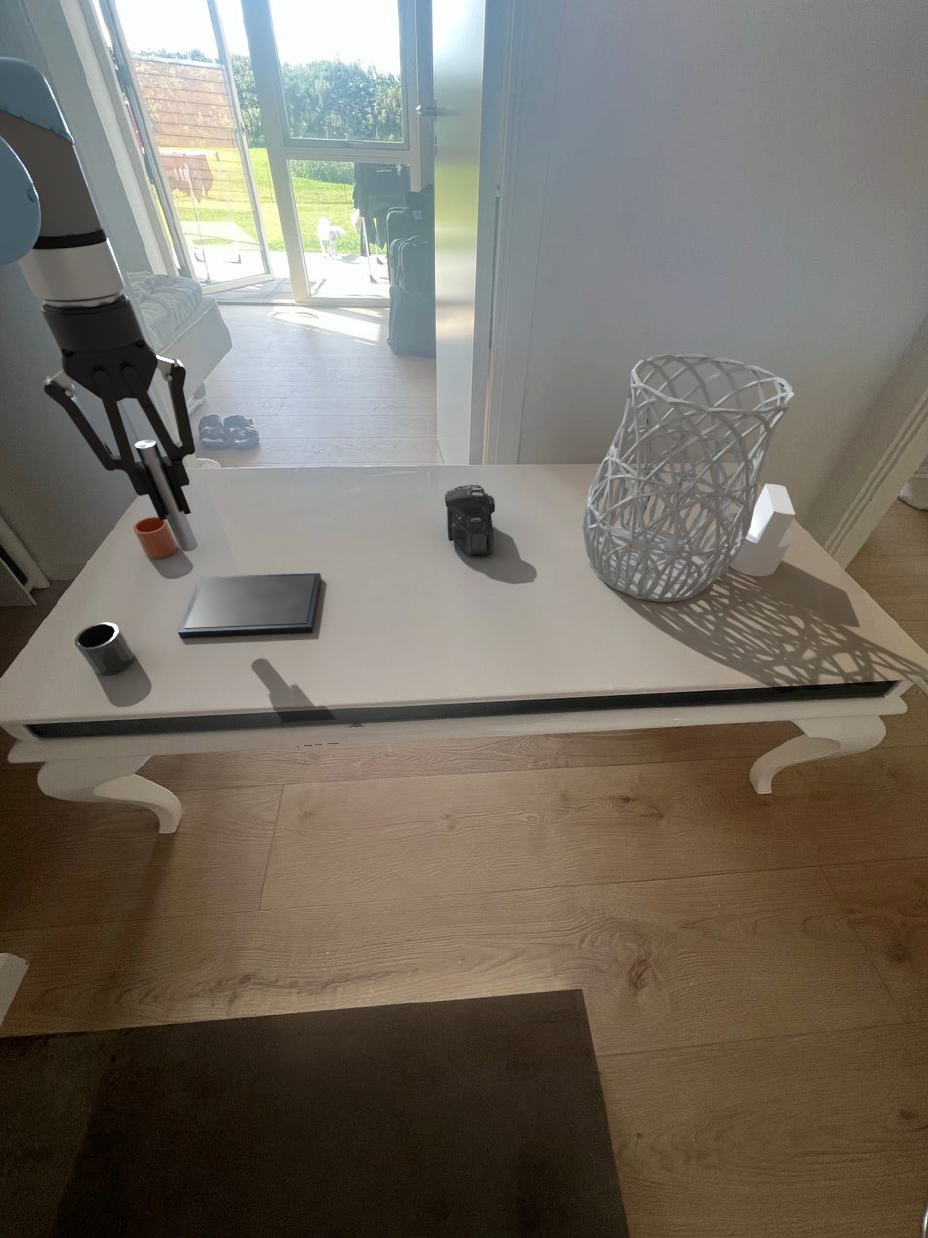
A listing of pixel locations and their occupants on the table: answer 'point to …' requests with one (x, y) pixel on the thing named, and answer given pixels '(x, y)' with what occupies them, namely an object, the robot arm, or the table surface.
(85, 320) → the robot arm
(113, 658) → the pen stand
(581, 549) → the table surface
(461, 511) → the camera
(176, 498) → the silver metal rod
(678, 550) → the vase
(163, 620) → the table surface
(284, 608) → the tablet
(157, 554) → the pen cup
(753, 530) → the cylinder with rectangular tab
